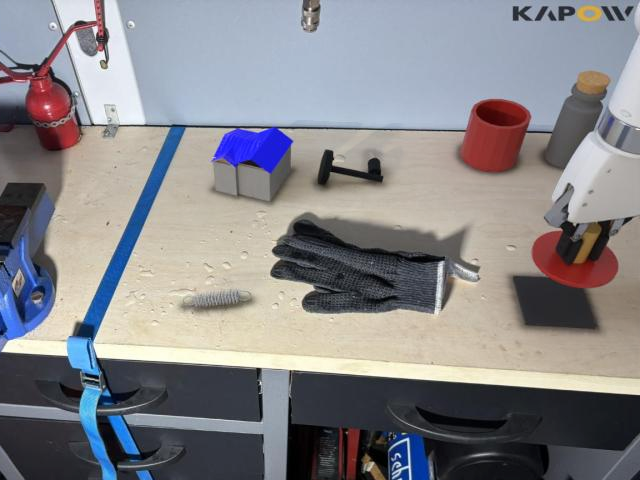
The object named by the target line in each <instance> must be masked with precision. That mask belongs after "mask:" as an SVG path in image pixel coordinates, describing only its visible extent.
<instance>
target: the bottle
mask: <svg viewBox="0 0 640 480" xmlns="http://www.w3.org/2000/svg"><path fill="white" fill-rule="evenodd" d="M576 79H577V81H576V82H575V83H574V84H573V85H572V87H571V89H570V93H571V95H569V96H567V97H566V98H565V99H564V100H563V104H562V106H561V108H560V112H559V114H558V117H557V119H556V122H555V124H554V127H553V130H552V132H551V135H550V138H549V140H548V143H547V145H546V148H545V151H544V154H543V157H544V159H545V161H546V162H547V163H549V164H550V165H552V166H554V167H558V168H564V169H565V168H566V166H567V164H568V163H569V161H570V159H571V158H572V156H573V154H574V153H575V151H576V150H577V148H578V147H579V145H580V144H581V142H582V141H583V140H584V139H585V137H586V136H587V135H588V134H589V133H590V132H593V131H595V129H596V125H597V123H598V121H599V119H600V116H601V115H602V112H603V109H604V104H603V102H602V101H603V100H604V99H605V98H606V97H607V94H608V89H607V88H608V86H609V85H610V84H611V77H610V76H609V75H607V74H606V73H603V72H601V71H596V70H584V71H582V72H580V73H578V75H577V78H576Z"/></svg>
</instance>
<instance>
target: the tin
mask: <svg viewBox="0 0 640 480" xmlns="http://www.w3.org/2000/svg"><path fill="white" fill-rule="evenodd" d="M531 120H532V115H531V112H530V110H529V109H527V107H525V106H524V105H522V104H521V103H518V102H516V101H514V100H510V99H509V100H508V99H503V98H488V99H483V100H480V101H478V102H477V103H475V104H473V106H472V107H471V109H470V114H469V117H468V121H467V125H466V129H465V133H464V135H463V141H462V144H461V148H460V157H461V159H462V160H463V162H464V163H466V164H467V165H468V166H470V168H473V169H476V170H479V171H483V172H489V173H498V172H499V173H500V172H504V171H507V170H510V169H512V168H513V167H514V166H515V165H516V163H517V160H518V158H519V154H520V152H521V148H522V145H523V143H524V139H525V138H526V135H527V132H528V128H529V125H530V122H531Z"/></svg>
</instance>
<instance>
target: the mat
mask: <svg viewBox="0 0 640 480" xmlns="http://www.w3.org/2000/svg"><path fill="white" fill-rule="evenodd" d="M512 281H513V284H514V288H515V292H516V296H517V299H518V302H519V306H520V310H521V315H522V318H523V322H524V325H525V326H539V327H553V328H554V327H557V328H573V329H593V330H596V329H597V324H596V321H595V318H594V315H593V313H592V310H591V307H590V305H589V302H588V299H587V297H586V294H585V291H584V288H577V287H571V286H568V285H564V284H562V283H559V282H557V281H555V280H553V279H551V278H549V277H548V276H529V275H527V276H526V275H512Z"/></svg>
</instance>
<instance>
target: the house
mask: <svg viewBox="0 0 640 480" xmlns="http://www.w3.org/2000/svg"><path fill="white" fill-rule="evenodd" d="M293 143H294V140H293V139H292V138H290V137H289V136H288V135H287V134H285V133H284V132H282V130H280V129H279V128H278V127H276V126H274V127H273V126H272V127H270V128H267V129H264V130H262V131H259V132H256V131H252V130H247V129H242V128H239V127H238V128H235V129H233V130H231V131H228V132H226V133H224V135H223V136H222V138H221V140H220V143H219V144H218V146H217V148H216V151H215V152H214V155H213V158H212V160H210V163H212V166H213V178H214V189H215V191H217V192H221V193H224V194H228V195H232V196H236V197H237V196H238V195H241V196H242V195H243V196H246V197H250V198H254V199H257V200H262V201H265V202H271V201H272V199H273V198H274V197H275V195H276V193H277V192H278V190H279V189H280V188H281V186H282V184H283V183H284V181H285V180H286V178H287V177H288V176H289V174H290V172H292V171H291V170H292V165H291V164H292V144H293Z"/></svg>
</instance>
